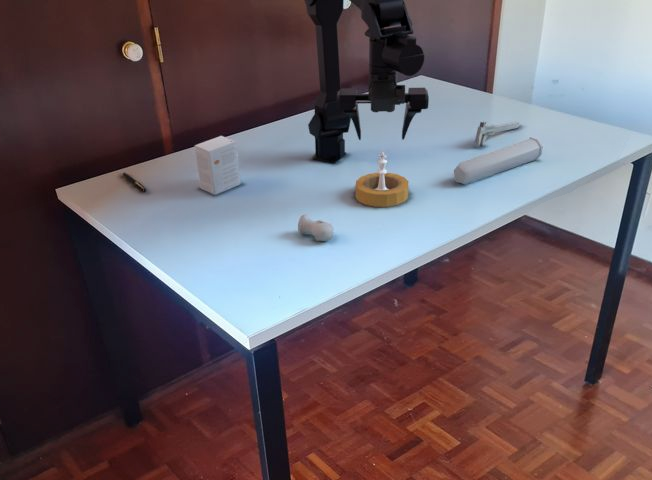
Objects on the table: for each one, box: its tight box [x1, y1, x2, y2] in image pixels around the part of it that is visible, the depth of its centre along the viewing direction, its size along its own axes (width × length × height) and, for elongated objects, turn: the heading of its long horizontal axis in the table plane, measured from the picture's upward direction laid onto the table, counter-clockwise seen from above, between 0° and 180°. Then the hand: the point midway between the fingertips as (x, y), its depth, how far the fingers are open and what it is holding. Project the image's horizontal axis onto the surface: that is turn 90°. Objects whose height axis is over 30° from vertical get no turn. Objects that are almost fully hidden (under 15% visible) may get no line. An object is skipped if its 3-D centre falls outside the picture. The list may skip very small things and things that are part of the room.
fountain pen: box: [121, 171, 147, 193], centre depth 167 cm, size 14×1×2 cm, turn 35°
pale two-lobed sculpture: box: [297, 213, 335, 242], centre depth 143 cm, size 4×8×5 cm
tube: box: [453, 136, 544, 186], centre depth 165 cm, size 5×5×25 cm
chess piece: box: [376, 151, 389, 190], centre depth 155 cm, size 5×5×10 cm
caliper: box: [474, 121, 522, 148], centre depth 182 cm, size 20×1×6 cm, turn 137°
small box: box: [194, 135, 242, 196], centre depth 162 cm, size 8×6×10 cm
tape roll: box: [355, 172, 410, 208], centre depth 157 cm, size 12×12×3 cm
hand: (381, 139), depth 152 cm, fingers open, 9 cm apart
